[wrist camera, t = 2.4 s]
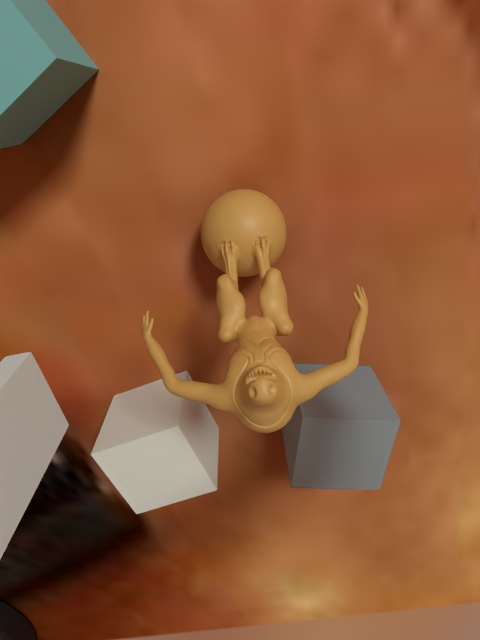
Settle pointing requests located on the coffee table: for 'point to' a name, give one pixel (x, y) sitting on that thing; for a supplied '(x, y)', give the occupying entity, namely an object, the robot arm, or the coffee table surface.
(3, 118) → the cube teal
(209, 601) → the coffee table surface
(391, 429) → the cube slate
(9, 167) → the coffee table surface
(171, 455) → the cube offwhite
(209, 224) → the figurine
